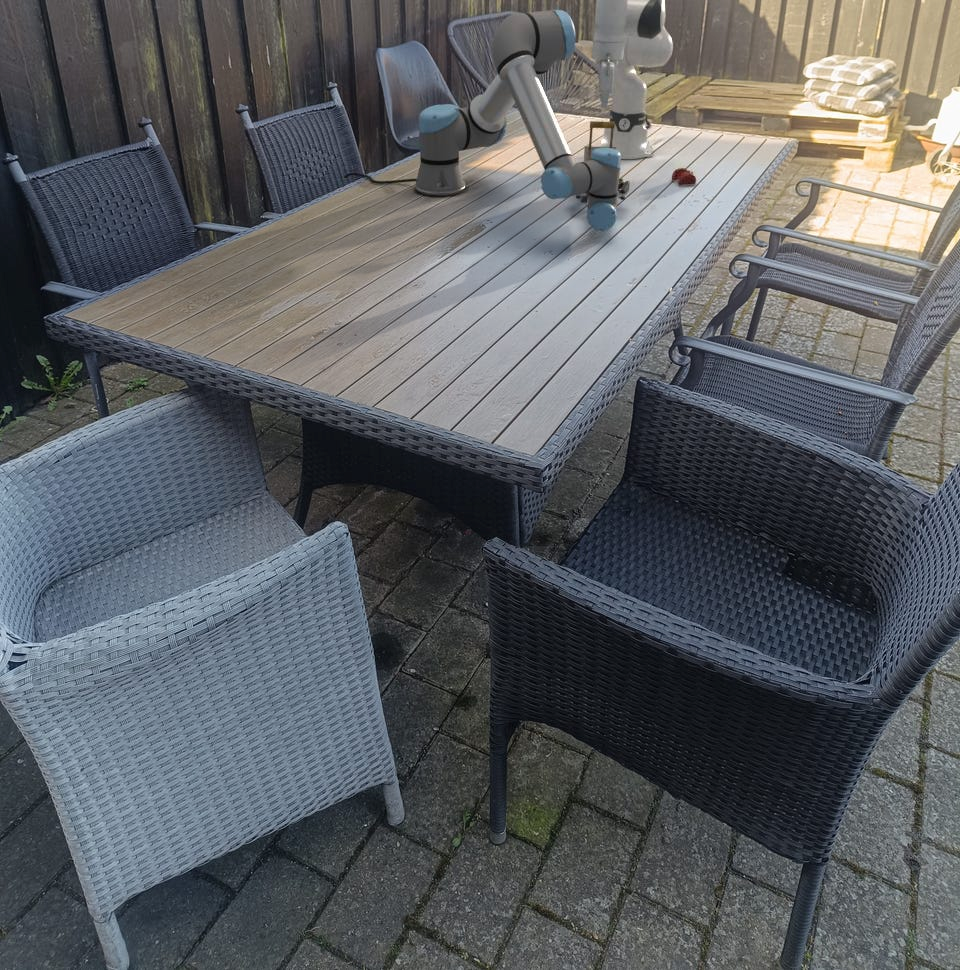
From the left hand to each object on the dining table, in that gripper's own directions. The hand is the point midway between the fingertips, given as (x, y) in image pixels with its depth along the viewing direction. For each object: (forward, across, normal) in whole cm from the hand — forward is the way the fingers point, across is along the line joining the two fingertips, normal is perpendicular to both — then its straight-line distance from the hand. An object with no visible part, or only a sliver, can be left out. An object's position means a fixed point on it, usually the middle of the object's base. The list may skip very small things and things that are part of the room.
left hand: (599, 177), depth 247 cm
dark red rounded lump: (+19, +27, -6) cm, 34 cm away
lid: (+6, 0, +4) cm, 7 cm away
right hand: (+11, 0, +18) cm, 21 cm away
